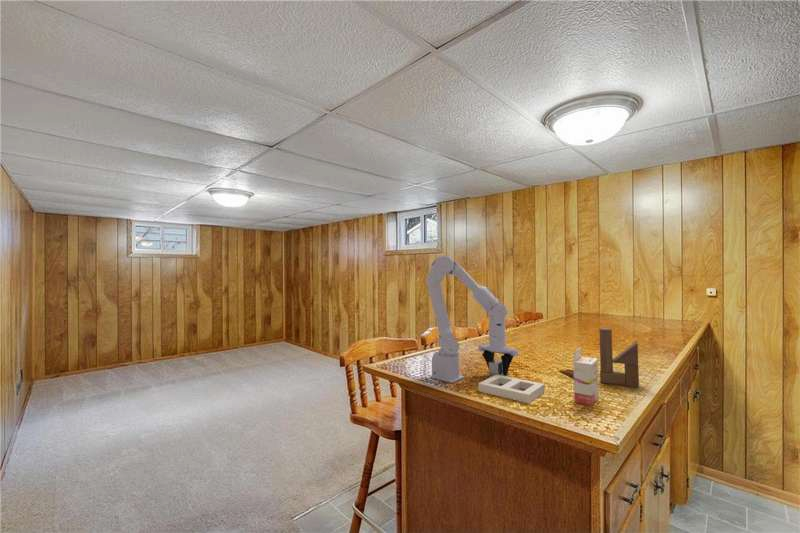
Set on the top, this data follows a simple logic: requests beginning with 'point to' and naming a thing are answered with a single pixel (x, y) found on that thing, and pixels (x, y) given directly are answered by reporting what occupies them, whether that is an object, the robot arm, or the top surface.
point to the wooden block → (626, 357)
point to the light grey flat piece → (512, 388)
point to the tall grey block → (496, 367)
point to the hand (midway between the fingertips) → (498, 373)
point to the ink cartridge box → (585, 379)
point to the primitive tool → (568, 372)
